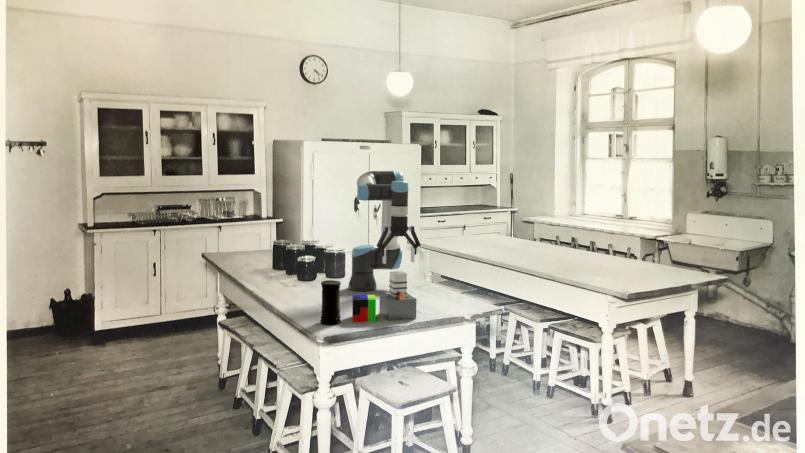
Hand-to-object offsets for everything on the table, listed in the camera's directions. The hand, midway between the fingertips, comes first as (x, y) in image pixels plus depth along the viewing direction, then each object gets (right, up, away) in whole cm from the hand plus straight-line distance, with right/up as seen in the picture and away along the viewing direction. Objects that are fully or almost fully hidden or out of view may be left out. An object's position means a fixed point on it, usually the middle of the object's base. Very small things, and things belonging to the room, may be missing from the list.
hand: (398, 262), depth 296 cm
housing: (0, -24, +3) cm, 25 cm away
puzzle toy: (-15, -25, -3) cm, 30 cm away
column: (0, -24, +3) cm, 25 cm away
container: (-29, -26, -10) cm, 40 cm away
